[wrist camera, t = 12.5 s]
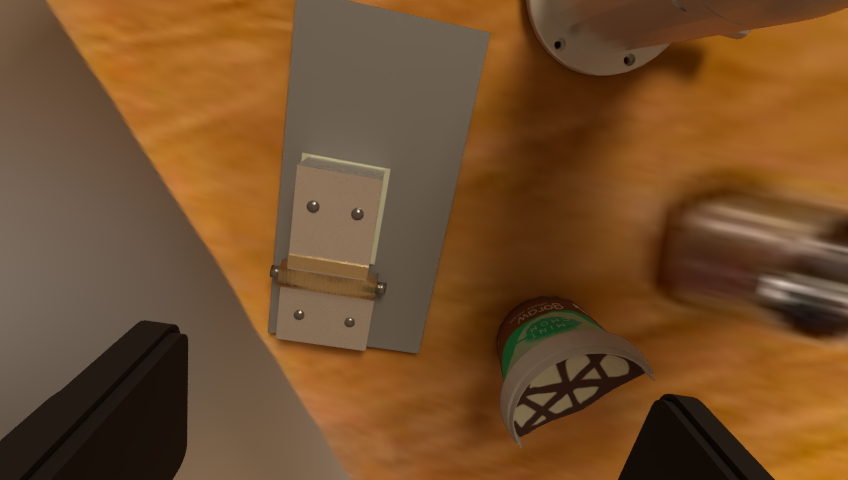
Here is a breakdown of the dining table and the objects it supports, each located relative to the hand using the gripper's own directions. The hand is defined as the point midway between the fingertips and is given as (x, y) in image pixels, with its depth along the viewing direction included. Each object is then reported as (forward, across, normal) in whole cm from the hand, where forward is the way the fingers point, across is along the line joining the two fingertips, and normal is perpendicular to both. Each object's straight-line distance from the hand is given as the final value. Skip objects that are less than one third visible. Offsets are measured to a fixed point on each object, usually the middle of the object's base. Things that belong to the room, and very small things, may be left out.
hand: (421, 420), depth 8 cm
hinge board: (+28, +3, +3) cm, 29 cm away
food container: (+28, -14, +12) cm, 34 cm away
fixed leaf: (+27, +5, +13) cm, 31 cm away
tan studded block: (+27, +5, +4) cm, 28 cm away
